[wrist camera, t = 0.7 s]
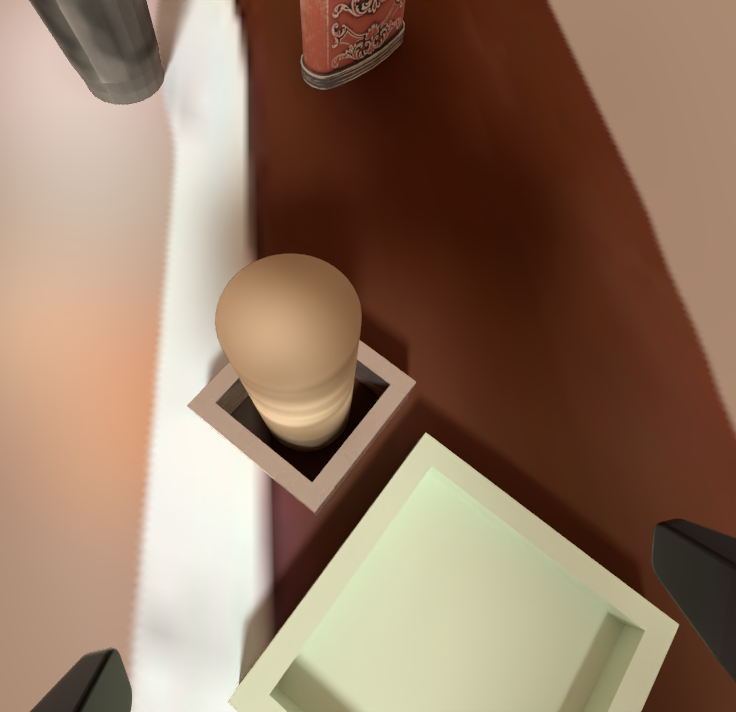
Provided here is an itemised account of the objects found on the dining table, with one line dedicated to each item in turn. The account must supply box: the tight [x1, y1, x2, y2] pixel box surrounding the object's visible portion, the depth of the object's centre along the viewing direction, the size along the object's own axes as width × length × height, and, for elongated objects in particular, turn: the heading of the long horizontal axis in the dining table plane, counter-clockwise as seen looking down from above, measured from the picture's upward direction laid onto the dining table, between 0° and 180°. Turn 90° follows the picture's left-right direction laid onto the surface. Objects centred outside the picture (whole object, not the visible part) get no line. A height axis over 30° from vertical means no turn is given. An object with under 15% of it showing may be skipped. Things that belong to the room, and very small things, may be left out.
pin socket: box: [187, 340, 416, 515], centre depth 21 cm, size 7×7×2 cm
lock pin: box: [215, 254, 362, 452], centre depth 18 cm, size 4×4×10 cm
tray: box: [228, 433, 679, 712], centre depth 18 cm, size 12×12×2 cm
